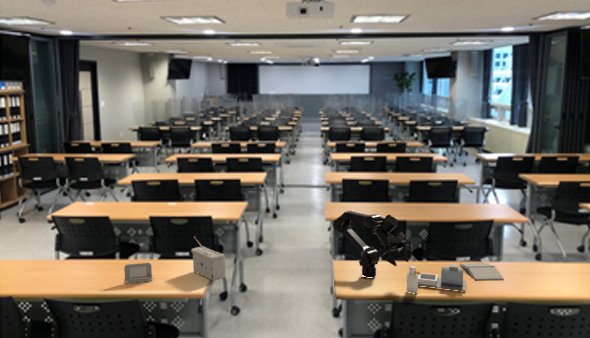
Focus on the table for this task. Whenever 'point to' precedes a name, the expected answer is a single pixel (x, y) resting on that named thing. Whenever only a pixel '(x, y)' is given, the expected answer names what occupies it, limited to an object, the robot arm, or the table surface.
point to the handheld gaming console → (138, 272)
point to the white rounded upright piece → (412, 280)
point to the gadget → (482, 271)
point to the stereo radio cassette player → (208, 263)
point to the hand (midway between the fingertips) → (402, 263)
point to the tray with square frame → (444, 279)
